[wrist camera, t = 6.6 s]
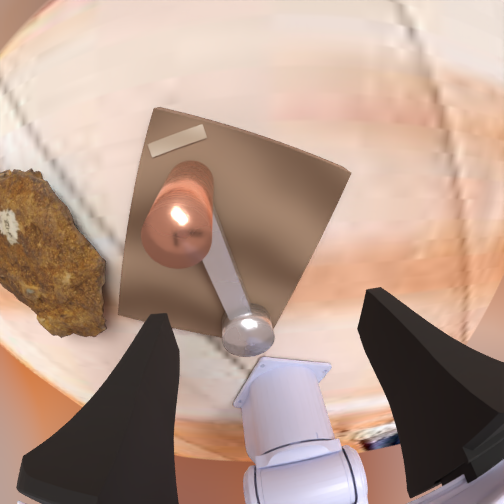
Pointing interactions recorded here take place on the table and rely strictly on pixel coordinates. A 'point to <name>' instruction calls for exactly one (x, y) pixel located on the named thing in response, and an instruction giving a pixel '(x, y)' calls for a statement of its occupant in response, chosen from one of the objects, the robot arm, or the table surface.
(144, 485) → the robot arm
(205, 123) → the board
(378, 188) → the table surface
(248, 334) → the lever
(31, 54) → the table surface
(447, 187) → the table surface
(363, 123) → the table surface
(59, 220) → the decorative rock
